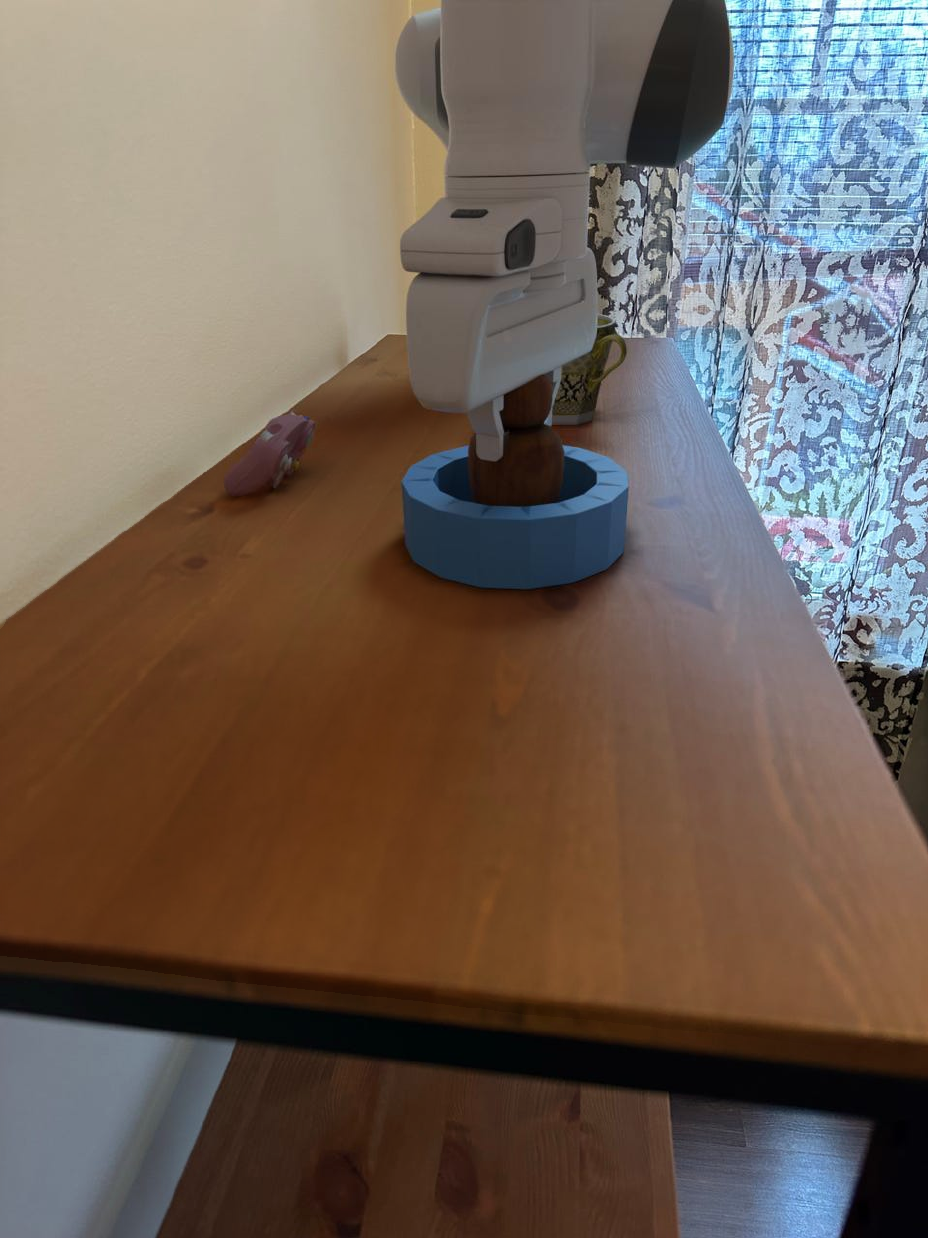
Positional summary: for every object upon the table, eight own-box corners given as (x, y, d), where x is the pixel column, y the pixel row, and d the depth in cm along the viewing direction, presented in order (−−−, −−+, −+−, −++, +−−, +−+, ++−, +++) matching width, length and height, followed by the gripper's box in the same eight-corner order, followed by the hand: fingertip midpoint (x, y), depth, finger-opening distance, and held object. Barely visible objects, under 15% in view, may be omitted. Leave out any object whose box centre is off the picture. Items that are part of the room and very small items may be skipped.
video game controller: (265, 517, 71) (290, 447, 67) (217, 492, 71) (239, 421, 67) (306, 478, 79) (331, 414, 76) (263, 455, 79) (286, 390, 75)
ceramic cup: (498, 416, 91) (498, 320, 86) (562, 399, 96) (565, 308, 91) (586, 442, 82) (591, 337, 77) (651, 422, 87) (659, 322, 82)
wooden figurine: (460, 534, 60) (452, 317, 53) (483, 505, 65) (480, 302, 57) (551, 544, 58) (556, 320, 51) (569, 513, 63) (576, 304, 55)
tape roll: (475, 488, 71) (473, 431, 69) (653, 521, 64) (659, 459, 62) (364, 559, 60) (358, 493, 57) (568, 609, 52) (571, 536, 50)
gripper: (543, 214, 61) (539, 402, 67) (381, 241, 45) (397, 481, 52) (625, 215, 58) (612, 412, 65) (481, 244, 43) (484, 498, 49)
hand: (515, 443), depth 58 cm, fingers closed on wooden figurine, 5 cm apart
